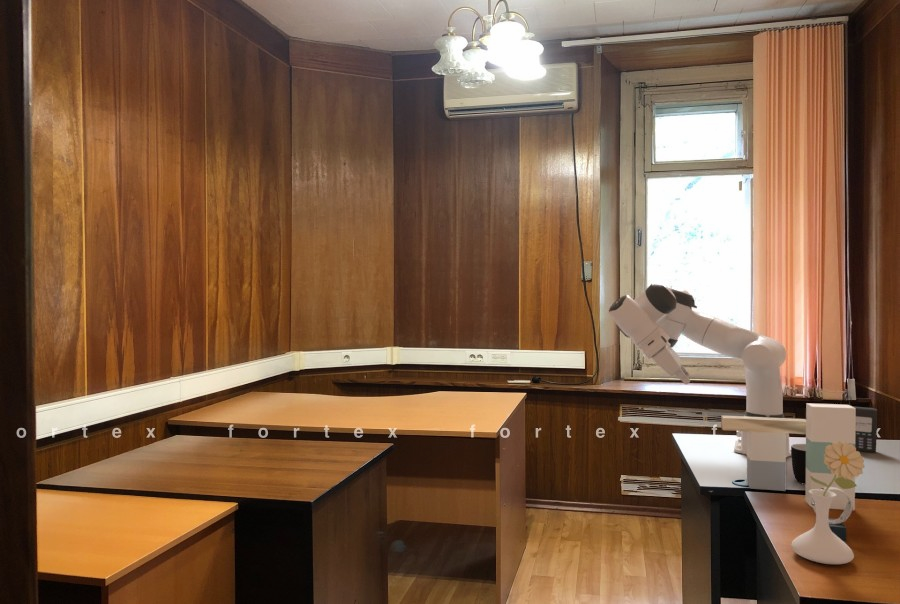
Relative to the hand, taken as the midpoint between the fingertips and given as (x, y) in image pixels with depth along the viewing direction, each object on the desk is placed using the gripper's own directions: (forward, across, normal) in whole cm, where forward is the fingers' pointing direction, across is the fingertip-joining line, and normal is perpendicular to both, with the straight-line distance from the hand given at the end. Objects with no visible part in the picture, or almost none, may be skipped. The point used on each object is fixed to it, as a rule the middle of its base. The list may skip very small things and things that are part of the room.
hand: (687, 379), depth 185 cm
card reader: (+64, -57, +20) cm, 88 cm away
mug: (+45, -13, +4) cm, 47 cm away
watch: (+42, +32, +3) cm, 53 cm away
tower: (+45, +9, +6) cm, 47 cm away
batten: (+24, -4, +6) cm, 25 cm away
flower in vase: (+38, +46, +1) cm, 60 cm away
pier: (+37, -3, -5) cm, 37 cm away
